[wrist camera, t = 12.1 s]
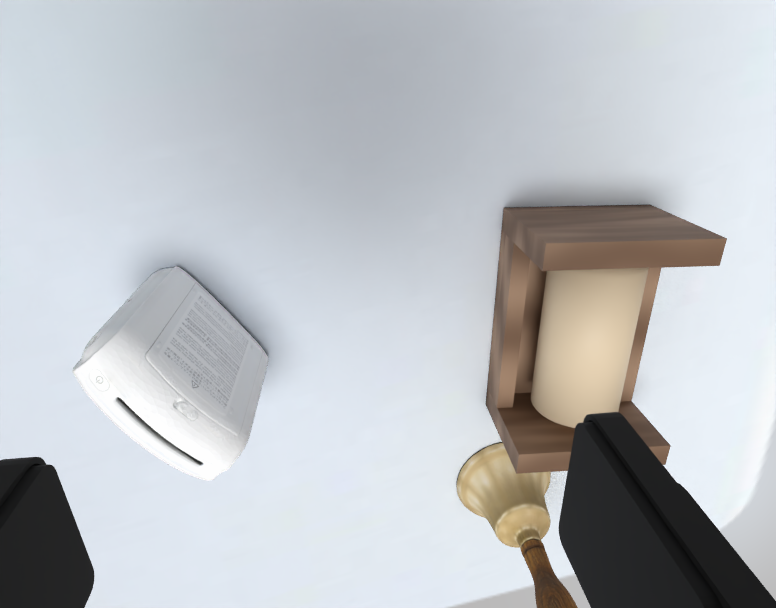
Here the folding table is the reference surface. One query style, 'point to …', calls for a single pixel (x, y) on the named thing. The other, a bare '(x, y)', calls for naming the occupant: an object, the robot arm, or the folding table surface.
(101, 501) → the folding table surface
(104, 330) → the photo printer
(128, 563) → the folding table surface
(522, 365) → the roll cradle
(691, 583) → the robot arm
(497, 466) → the hand bell
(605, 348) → the paper roll
